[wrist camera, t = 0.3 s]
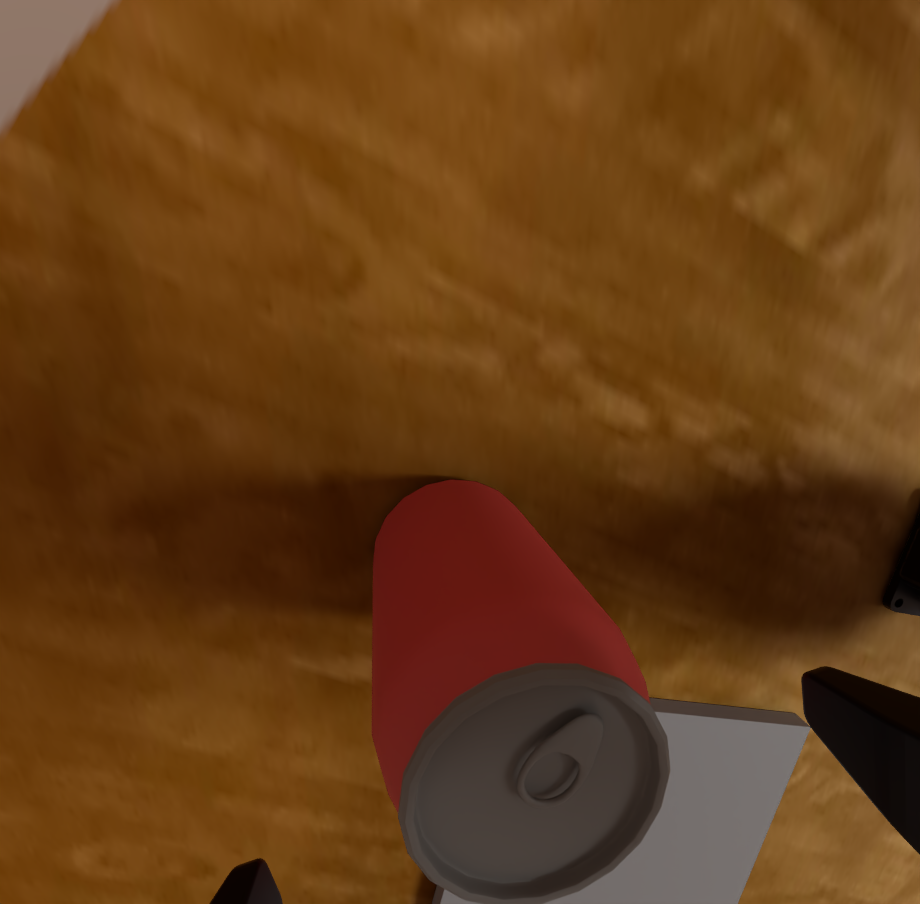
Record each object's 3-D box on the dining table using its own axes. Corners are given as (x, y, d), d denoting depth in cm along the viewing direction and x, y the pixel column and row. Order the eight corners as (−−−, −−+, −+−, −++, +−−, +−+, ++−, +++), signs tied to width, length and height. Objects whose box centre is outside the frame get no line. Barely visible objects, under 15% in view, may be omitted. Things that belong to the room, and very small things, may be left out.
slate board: (795, 713, 27) (810, 727, 26) (699, 947, 29) (710, 968, 28) (494, 681, 23) (499, 696, 22) (418, 951, 26) (419, 975, 25)
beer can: (554, 524, 22) (757, 731, 10) (470, 643, 22) (572, 966, 11) (430, 445, 20) (504, 586, 9) (342, 576, 21) (301, 873, 9)
